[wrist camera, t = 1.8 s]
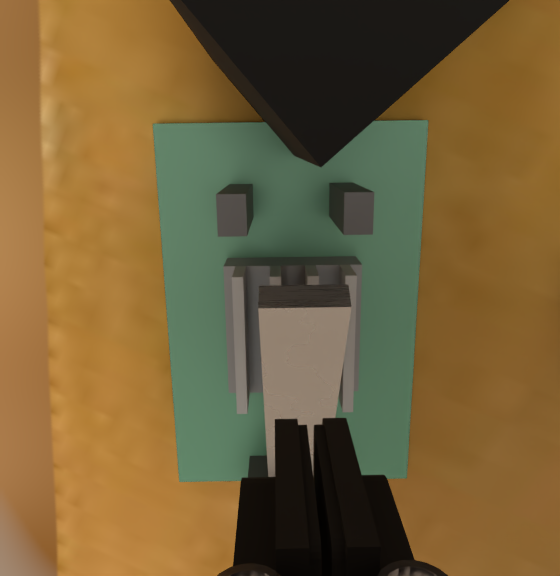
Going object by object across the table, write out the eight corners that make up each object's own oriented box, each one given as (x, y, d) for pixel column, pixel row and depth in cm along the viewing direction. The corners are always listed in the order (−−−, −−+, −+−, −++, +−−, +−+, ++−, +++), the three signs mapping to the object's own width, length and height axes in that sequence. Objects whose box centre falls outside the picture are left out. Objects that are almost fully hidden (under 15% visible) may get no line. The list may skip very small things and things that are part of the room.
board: (402, 468, 37) (442, 568, 28) (182, 471, 37) (152, 572, 28) (422, 121, 31) (481, 110, 22) (157, 124, 31) (109, 115, 22)
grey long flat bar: (332, 489, 31) (334, 513, 30) (258, 490, 31) (258, 514, 30) (368, 279, 17) (373, 311, 16) (238, 281, 17) (236, 313, 16)
